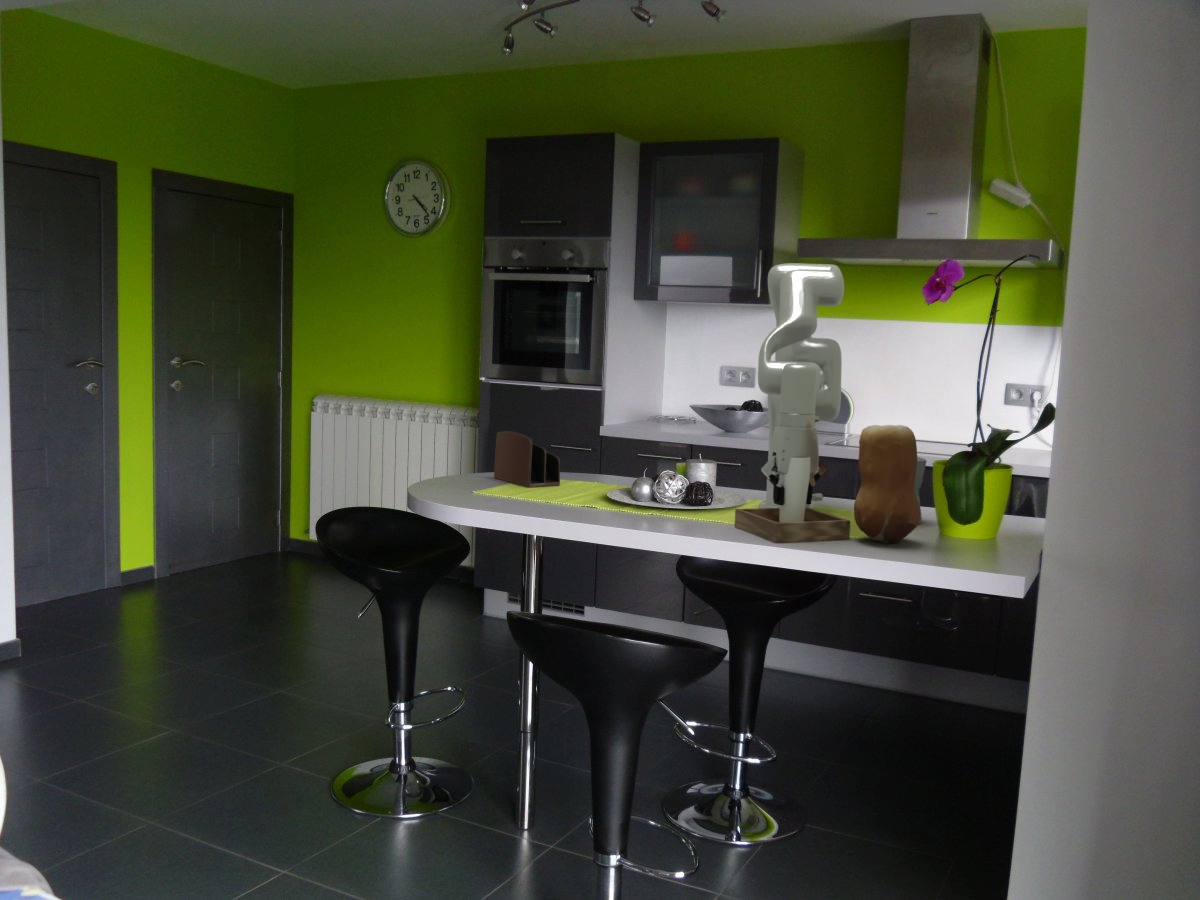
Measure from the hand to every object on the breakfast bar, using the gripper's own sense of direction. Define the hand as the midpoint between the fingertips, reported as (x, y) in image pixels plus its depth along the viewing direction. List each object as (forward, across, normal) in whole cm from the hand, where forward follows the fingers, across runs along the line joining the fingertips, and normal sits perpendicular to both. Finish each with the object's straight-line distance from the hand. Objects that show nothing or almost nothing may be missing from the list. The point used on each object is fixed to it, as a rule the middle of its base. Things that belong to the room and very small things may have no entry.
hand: (792, 503), depth 236 cm
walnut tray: (+6, 0, 0) cm, 6 cm away
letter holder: (+7, +35, -81) cm, 89 cm away
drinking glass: (+5, 0, 0) cm, 5 cm away
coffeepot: (+7, -33, -6) cm, 34 cm away
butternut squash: (+7, -15, +13) cm, 21 cm away
